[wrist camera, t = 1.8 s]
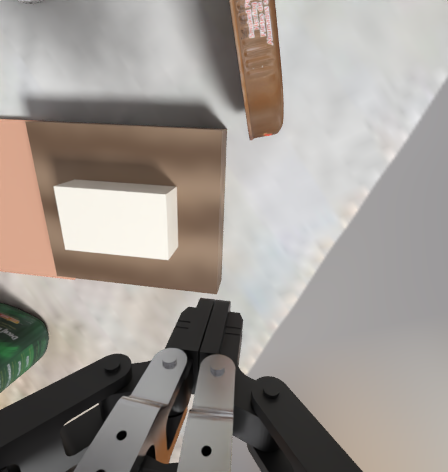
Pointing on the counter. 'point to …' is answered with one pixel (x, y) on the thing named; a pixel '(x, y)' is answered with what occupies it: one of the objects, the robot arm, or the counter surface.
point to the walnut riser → (139, 172)
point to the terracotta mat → (21, 207)
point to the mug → (30, 1)
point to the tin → (259, 64)
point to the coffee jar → (19, 343)
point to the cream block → (118, 218)
